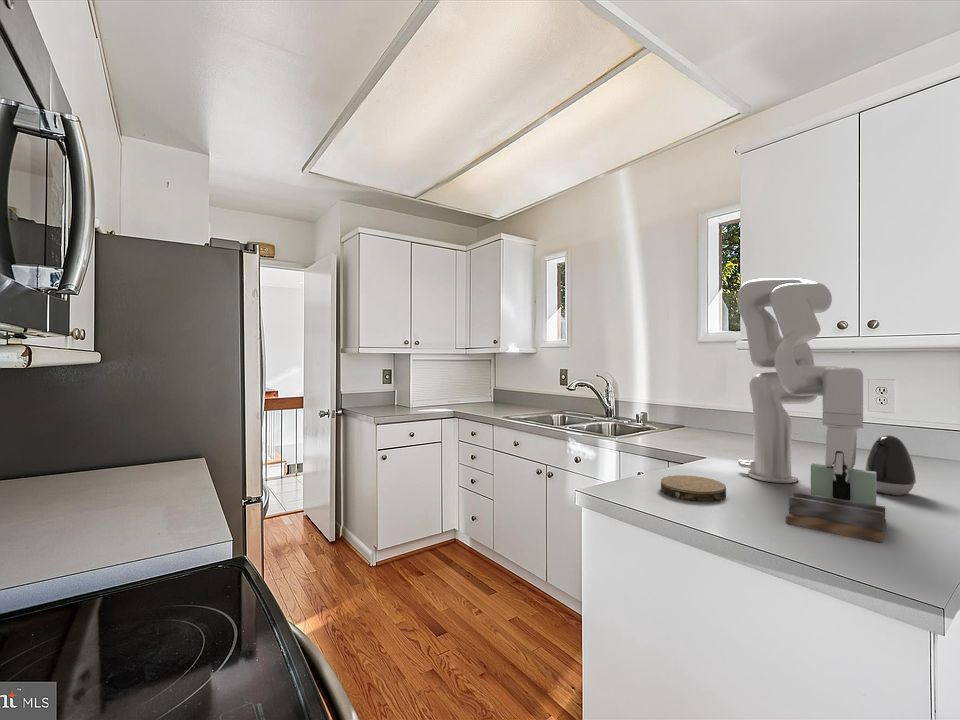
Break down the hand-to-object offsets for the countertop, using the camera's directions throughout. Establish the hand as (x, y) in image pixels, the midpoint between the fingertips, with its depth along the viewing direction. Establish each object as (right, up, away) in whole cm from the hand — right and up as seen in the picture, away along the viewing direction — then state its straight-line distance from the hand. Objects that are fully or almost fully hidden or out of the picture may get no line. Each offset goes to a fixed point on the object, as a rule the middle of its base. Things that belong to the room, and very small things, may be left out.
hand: (842, 496), depth 109 cm
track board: (-8, -3, -9) cm, 13 cm away
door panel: (0, -3, 0) cm, 3 cm away
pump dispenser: (+23, -3, +14) cm, 27 cm away
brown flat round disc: (-28, -4, +15) cm, 32 cm away
